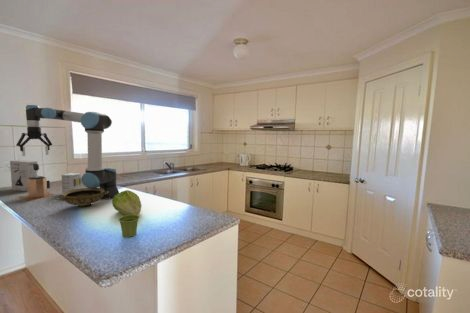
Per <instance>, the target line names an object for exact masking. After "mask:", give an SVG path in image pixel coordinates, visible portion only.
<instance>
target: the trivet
mask: <svg viewBox="0 0 470 313" xmlns="http://www.w3.org/2000/svg"><path fill="white" fill-rule="evenodd" d="M57 196H58V194H54V193H50V192H48V191H47V196H45V197H40V198H28V195H22V196H17V198H18V199H20V200H23V201H25V202H32V201H36V200H42V199H47V198H53V197H57Z"/></svg>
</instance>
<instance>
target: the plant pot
mask: <svg viewBox="0 0 470 313" xmlns="http://www.w3.org/2000/svg"><path fill="white" fill-rule="evenodd" d="M139 220H140V216H139V214H138V215H122V216H121V217H118V220H117V221H118V222H119V224H120V228H121V234H122V237H123V238H131V237H135V236H136V235H137V230H138V229H137V228H138V224H139ZM134 235H135V236H134Z"/></svg>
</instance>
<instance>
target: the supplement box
mask: <svg viewBox="0 0 470 313" xmlns="http://www.w3.org/2000/svg"><path fill="white" fill-rule="evenodd" d="M81 188H82V174H81V173H79V172H78V173H76V172H72V173H71V172H69V173H65V174H61V194H63V193H64V192H66V191H69V190H74V189H81Z"/></svg>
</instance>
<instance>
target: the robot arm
mask: <svg viewBox="0 0 470 313" xmlns="http://www.w3.org/2000/svg"><path fill="white" fill-rule="evenodd" d="M25 116H26V117H25V118H26V126H27V127H26V131H27V132H21V136H20V138H19V139H18V141H17V143H16V146H17V147H19V150H20V152H21V153H22V154H21V155H22V157H25V156H26V147H25V145H26V144H27V143H28V142H29V141H31V140H39V141H40V142H42V143H43V144H44V145H45V148H44V149H45V156H48V155H49V151H50V150H51V149H50V148H51V146H53V143H52V141H51V140H50V138H49V137H48V135H47V133H46V132H45V133H42V128H41V119H49V120H60V121H65V122H74V123H80V125H81V126H82V127H83V128H84V132H86V133H87V136H86V137H87V167H86V168H85V170H84V171H85V172H84V173H83V175H81V184H83V185H84V187H85V188H101V189H104V192H105V191H108V192H109V193H108V194H105V195H103V197H102V199H101V200H107V199H108V200H110V199H113V198H114V196H115V195H117V194H119V193H120V191H119V189H118V187H117V169H116V167H115V168H114V167H103V156H102V154H103V153H102V152H103V148H102V147H103V146H102V142H103V141H102V140H103V137H102V134H103V133H104V132H105V130H106V129H109V128H110V127H112V126H111V125H112V124H113V121H112V117H110V115H109V114H106V113H102V112H96V111H87V112H85V113H83V112H77V111H69V110H62V109H54V108H51V107H40V106H39V105H35V104H26V105H25ZM25 137H26V138H25ZM43 137H44V139H43ZM24 139H25V140H24ZM103 194H104V193H103Z"/></svg>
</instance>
